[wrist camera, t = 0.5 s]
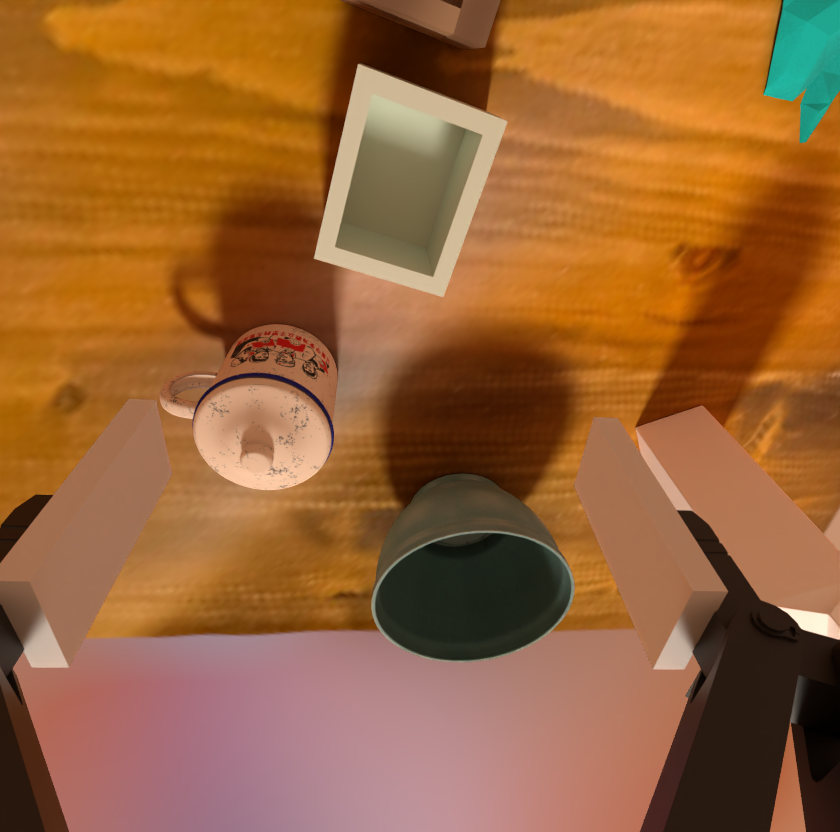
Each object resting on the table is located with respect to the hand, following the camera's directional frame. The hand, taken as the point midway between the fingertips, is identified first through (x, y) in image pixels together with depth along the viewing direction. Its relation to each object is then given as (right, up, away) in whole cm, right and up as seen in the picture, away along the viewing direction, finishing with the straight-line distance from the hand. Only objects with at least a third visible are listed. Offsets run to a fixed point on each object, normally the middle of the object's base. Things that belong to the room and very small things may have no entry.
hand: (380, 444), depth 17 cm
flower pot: (+5, -8, +36) cm, 37 cm away
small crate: (0, +17, +19) cm, 26 cm away
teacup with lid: (-11, +5, +26) cm, 29 cm away
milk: (+24, -1, +33) cm, 41 cm away
